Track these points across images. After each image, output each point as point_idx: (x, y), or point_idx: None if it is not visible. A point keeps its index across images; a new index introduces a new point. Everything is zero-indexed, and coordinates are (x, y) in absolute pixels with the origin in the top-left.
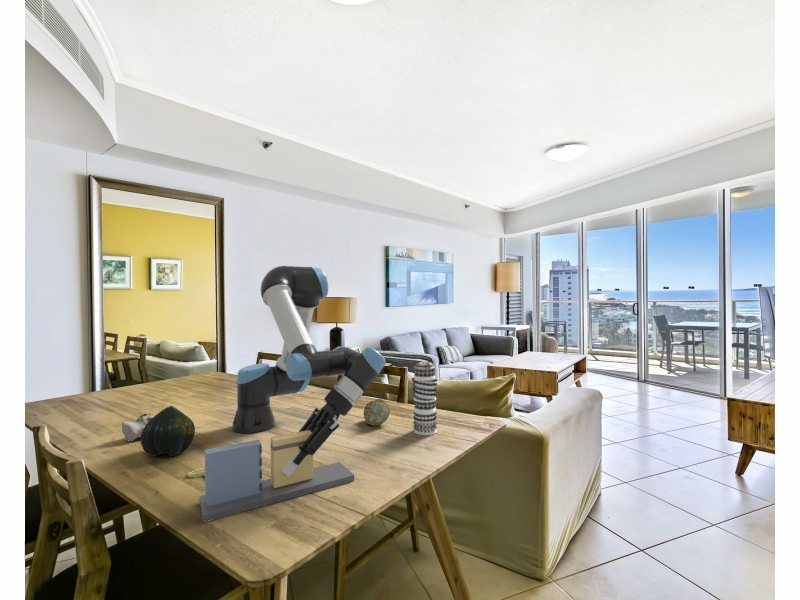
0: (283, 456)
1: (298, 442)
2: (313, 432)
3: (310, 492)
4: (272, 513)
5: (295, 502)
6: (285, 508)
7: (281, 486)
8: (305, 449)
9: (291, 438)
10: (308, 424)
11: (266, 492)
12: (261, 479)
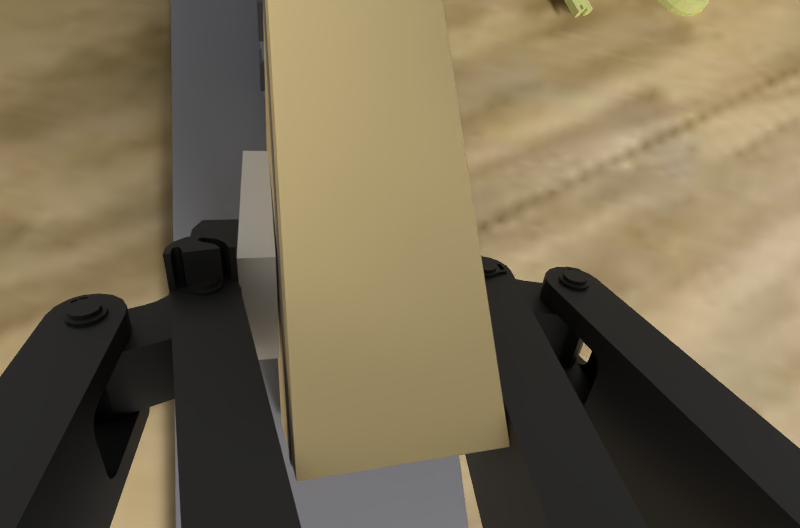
0: (268, 117)
1: (277, 234)
2: (236, 492)
3: None
4: (59, 125)
5: (110, 264)
6: (71, 197)
7: None
8: (81, 297)
9: (274, 100)
10: (715, 481)
11: (252, 118)
12: (262, 45)
